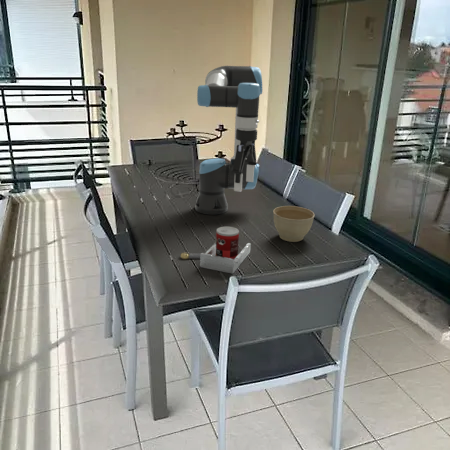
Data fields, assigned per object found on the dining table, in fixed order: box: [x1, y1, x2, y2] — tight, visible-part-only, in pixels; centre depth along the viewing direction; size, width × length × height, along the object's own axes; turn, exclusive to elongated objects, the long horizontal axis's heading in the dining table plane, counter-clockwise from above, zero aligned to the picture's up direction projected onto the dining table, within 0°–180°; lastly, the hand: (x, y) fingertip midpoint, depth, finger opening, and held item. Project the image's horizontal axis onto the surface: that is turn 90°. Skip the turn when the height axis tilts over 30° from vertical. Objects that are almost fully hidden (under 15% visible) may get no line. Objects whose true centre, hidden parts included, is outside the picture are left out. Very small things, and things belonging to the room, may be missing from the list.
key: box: [180, 252, 202, 260], centre depth 162 cm, size 8×3×1 cm, turn 94°
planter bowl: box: [272, 205, 315, 243], centre depth 180 cm, size 16×16×11 cm
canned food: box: [215, 226, 240, 259], centre depth 160 cm, size 8×8×11 cm
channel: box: [199, 242, 252, 274], centre depth 161 cm, size 12×19×5 cm, turn 159°
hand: (243, 186), depth 168 cm, fingers open, 13 cm apart
